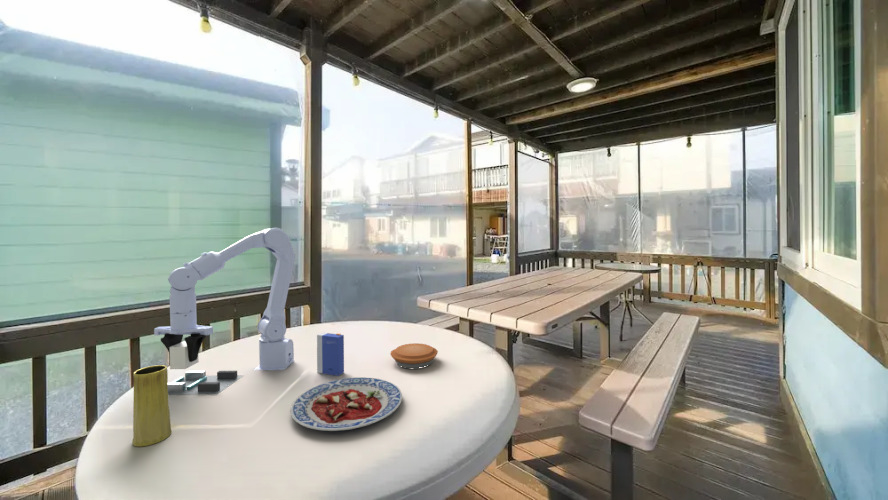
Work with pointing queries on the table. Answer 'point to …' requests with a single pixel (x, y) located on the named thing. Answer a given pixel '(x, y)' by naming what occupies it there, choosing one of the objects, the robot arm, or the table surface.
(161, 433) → the vase
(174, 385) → the port
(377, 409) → the ceramic plate
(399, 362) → the pie
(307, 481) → the table surface
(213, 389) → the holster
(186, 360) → the plug
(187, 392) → the panel
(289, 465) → the table surface
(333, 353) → the walkman
